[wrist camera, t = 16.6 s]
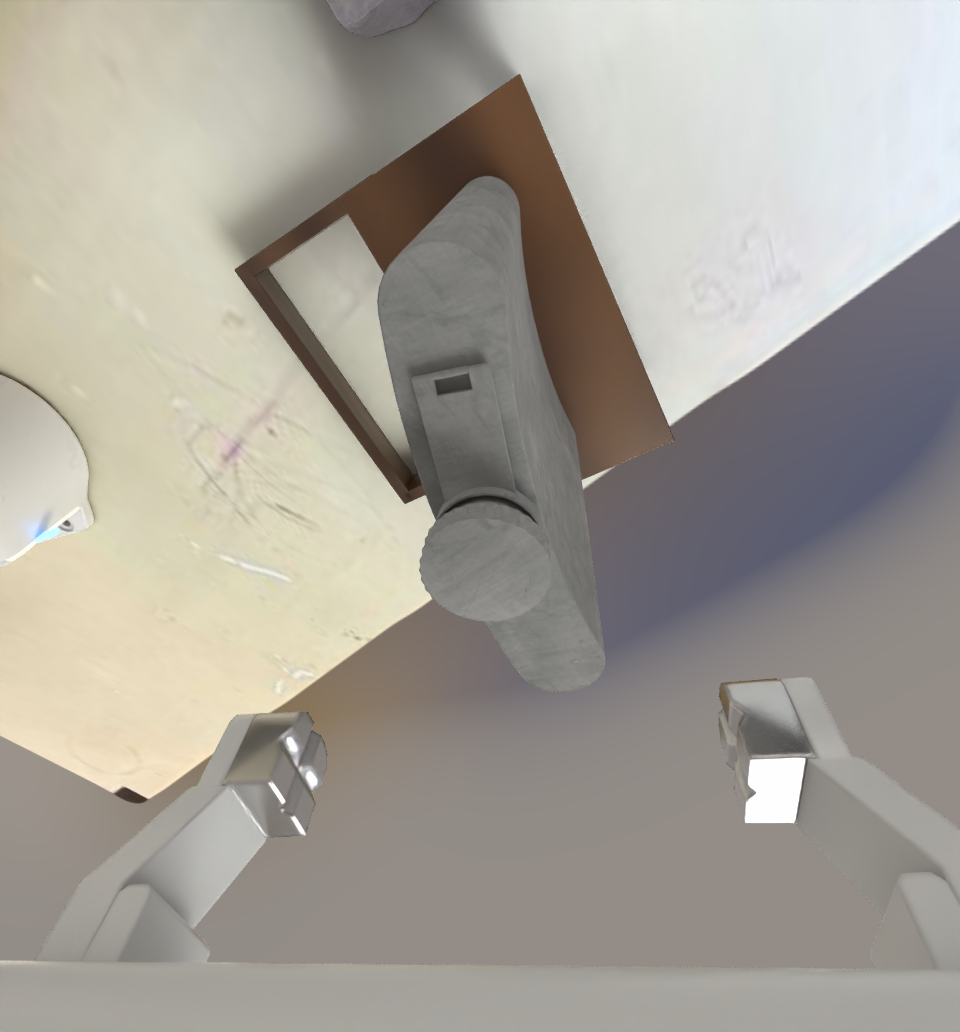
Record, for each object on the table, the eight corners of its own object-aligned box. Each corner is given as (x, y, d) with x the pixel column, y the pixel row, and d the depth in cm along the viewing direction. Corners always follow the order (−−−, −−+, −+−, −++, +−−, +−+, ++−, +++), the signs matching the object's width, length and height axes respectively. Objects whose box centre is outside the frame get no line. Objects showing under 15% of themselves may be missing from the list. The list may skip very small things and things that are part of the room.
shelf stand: (409, 489, 51) (382, 570, 42) (248, 262, 42) (167, 304, 33) (647, 378, 44) (678, 447, 35) (519, 75, 35) (514, 60, 26)
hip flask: (580, 456, 36) (621, 746, 19) (516, 471, 37) (502, 760, 20) (510, 166, 28) (475, 240, 11) (429, 194, 29) (287, 301, 12)
